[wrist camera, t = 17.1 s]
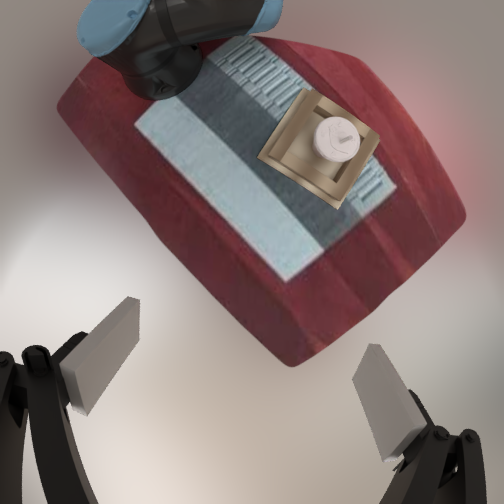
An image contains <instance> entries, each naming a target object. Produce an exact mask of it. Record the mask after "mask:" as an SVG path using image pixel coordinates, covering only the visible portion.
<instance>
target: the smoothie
mask: <svg viewBox="0 0 504 504" xmlns="http://www.w3.org/2000/svg"><path fill="white" fill-rule="evenodd" d="M359 146H360V136H359V133H358V131H357V129H356V127H355V126H354V125H353V124H352V123H351V122H350V121H348V120H347V119H344V118H342V117H329V118H327V119H325V120H323V121H322V122H320V123H319V124H318V126H317V127H316V129H315V132H314V141H313V144H312V149H313V152H314V153H315V155H317V156H318V157H320V158H326V159H327V160H330V161H332V162H345V161H347V160H349V159H351V158H352V157H354V156H355V155H356V153H357V152H358V150H359Z"/></svg>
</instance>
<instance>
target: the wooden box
mask: <svg viewBox="0 0 504 504" xmlns="http://www.w3.org/2000/svg"><path fill="white" fill-rule="evenodd" d="M329 117H342V118H344V119H347V120H348V121H350V122H351V123H352V124H353V125H354V126H355V127H356V129H357V131H358V133H359V136H360V146H359V150H358V152H357V153H356V155H355V156H354V157H352V158H351V159H349V160H347V161H345V162H332V161H330V160H327V159H326V158H320V157H318V156H317V155H315V153H314V152H313V149H312V144H313V141H314V132H315V129H316V127H317V126H318V124H319V123H320V122H322V121H323V120H325V119H327V118H329ZM379 137H380V136H379V135H378V134H377V133H376V132H374V131H373V130H372V129H370V128H369V127H368V126H366V125H365V124H364V123H362V122H361V121H360V120H358V119H357V118H356V117H354V116H353V115H351V114H350V113H349V112H347V111H346V110H344V109H343V108H341V107H340V106H338V105H337V104H335V103H334V102H332V101H331V100H329V99H328V98H326V97H325V96H323V95H322V94H320V93H318V92H317V91H315V90H313V89H312V90H311V91H309V90H307V89H305V88H304V87H303V89H302V90H301V92H300V93H299V95H298V96H297V98H296V99H295V101H294V102H293V103H292V105H291V106H290V108H289V109H288V111H287V112H286V114H285V115H284V117H283V118H282V120H281V121H280V123H279V124H278V126H277V127H276V129H275V130H274V132H273V133H272V135H271V136H270V138H269V140H268V141H267V143H266V144H265V146H264V147H263V149H262V150H261V152H260V153H259V155H258V157H257V158H258V159H260V160H261V161H263V162H265V163H266V164H268V165H270V166H271V167H273V168H274V169H276V170H278V171H279V172H281V173H282V174H284V175H286V176H287V177H289V178H290V179H292V180H293V181H295V182H297V183H298V184H300V185H301V186H303V187H304V188H306V189H307V190H309V191H310V192H312V193H313V194H315V195H316V196H318V197H319V198H321V199H322V200H324V201H325V202H326V203H328V204H329V205H331V206H332V207H334V208H335V209H337V210H338V209H339V207H340V205H341V204H342V202H343V201H344V199H345V198H346V196H347V194H348V193H349V191H350V190H351V188H352V186H353V185H354V183H355V181H356V180H357V178H358V177H359V175H360V173H361V172H362V170H363V168H364V167H365V165H366V163H367V162H368V160H369V158H370V157H371V155H372V153H373V152H374V150H375V148H376V147H377V145H378V143H379V141H380V140H379Z"/></svg>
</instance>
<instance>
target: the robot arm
mask: <svg viewBox="0 0 504 504" xmlns="http://www.w3.org/2000/svg"><path fill="white" fill-rule="evenodd" d="M282 7H283V0H92V1H91V2H90V3H89V5H88V6H87V7H86V8H85V10H84V12H83V13H82V15H81V17H80V19H79V22H78V26H77V39H78V41H79V43H80V44H81V45H82V46H83V47H84V48H85V49H87V50H88V51H89V53H90V54H91V55H93V56H95V57H97V58H98V59H100V60H102V61H103V62H105V63H107V64H108V65H110V66H111V67H113V68H115V69H116V70H118V71H119V72H121V73H122V76H123V78H124V81H125V83H126V85H127V87H128V88H129V89H130V90H131V91H132V92H133V93H134V94H136V95H138V96H139V97H141V98H143V99H147V100H163V99H167V98H170V97H172V96H175V95H177V94H179V93H180V92H182V91H183V90H185V89H186V88H187V87H188V86H189V85H190V84H191V83H192V82H193V81H194V80H195V78H196V77H197V75H198V73H199V71H200V69H201V66H202V51H201V49H200V47H199V45H198V43H199V42H204V41H209V40H214V39H220V38H226V37H232V36H239V35H241V36H246V35H249V34H251V33H258V32H265V31H268V30H270V29H272V28H274V27H275V26H276V24H277V23H278V21H279V19H280V16H281V12H282ZM139 314H140V300H138V299H135V298H132V297H127V298H126V299H124V300H123V301H122V302H121V303H120V304H119V305H118V306H117V307H116V308H115V309H114V310H113V311H112V312H111V313H110V314H109V315H108V316H107V317H106V318H105V319H103V321H101V322H100V324H98V325H97V326H96V327H95V328H94V329H93V330H92V332H90V333H89V334H88V333H85V332H82V331H81V332H79V333H77V334H75V335H73V336H72V337H71V338H70V339H69V340H68V341H67V342H65V343H64V344H63V346H61V347H60V348H59V349H58V350H57V351H56V352H55V353H54V354H53V355H52V356H50V353H49V350H48V349H47V348H45V347H43V346H41V345H33V346H29V347H27V348H26V349H25V350H24V351H23V352H22V359H23V363H24V365H21V364H18V363H15V361H14V358H13V356H12V355H11V354H10V353H8V352H5V351H1V352H0V504H22V463H23V449H24V439H25V432H26V424H27V418H28V412H29V421H30V429H31V435H32V442H33V448H34V453H35V458H36V463H37V467H38V471H39V475H40V479H41V483H42V487H43V490H44V493H45V496H46V500H47V503H48V504H98V502H97V499H96V497H95V495H94V493H93V490H92V488H91V486H90V483H89V481H88V478H87V475H86V473H85V470H84V467H83V464H82V461H81V459H80V455H79V452H78V449H77V446H76V443H75V439H74V436H73V432H72V428H71V425H70V420H69V416H68V412H67V409H66V406H67V405H68V403H69V402H70V403H71V406H72V409H73V410H75V411H77V412H79V413H81V414H83V415H85V416H88V414H89V413H90V411H91V409H92V408H93V407H94V405H95V404H96V402H97V401H98V399H99V398H100V396H101V395H102V393H103V392H104V390H105V389H106V387H107V386H108V384H109V383H110V381H111V380H112V378H113V377H114V375H115V374H116V373H117V371H118V370H119V368H120V367H121V365H122V364H123V363H124V361H125V360H126V358H127V357H128V355H129V354H130V353H131V351H132V350H133V348H134V347H135V345H136V344H137V343H138V341H139ZM352 380H353V383H354V385H355V388H356V390H357V393H358V395H359V398H360V401H361V403H362V406H363V408H364V411H365V414H366V417H367V419H368V422H369V425H370V427H371V430H372V432H373V436H374V438H375V441H376V444H377V447H378V449H379V453H380V455H381V458H382V461H383V462H388V461H394V460H396V459H397V458H398V457H399V456H400V455H401V454H402V453H403V455H404V459H403V460H402V461H401V462H400V463H399V464H398V465H397V466H396V467H395V468H394V469H393V471H395V470H396V469H397V471H396V474H395V475H394V478H393V479H392V481H391V483H390V485H389V487H388V489H387V491H386V493H385V494H384V496H383V498H382V500H381V501H380V503H379V504H487V497H486V481H485V471H484V462H483V455H482V449H481V443H480V438H479V436H478V435H477V433H476V432H475V431H474V430H471V429H465V430H463V432H462V433H461V434H460V435H459V436H454V435H450V434H449V432H448V431H447V430H446V429H445V428H443V427H442V426H435V425H434V423H433V422H432V420H431V418H430V416H429V415H428V413H427V411H426V410H425V408H424V406H423V404H422V403H421V401H420V399H419V398H418V396H417V395H416V394H415V393H414V392H413V391H412V390H408V389H407V388H406V386H405V384H404V383H403V381H402V380H401V378H400V376H399V374H398V373H397V371H396V369H395V368H394V366H393V364H392V363H391V361H390V360H389V358H388V357H387V355H386V354H385V352H384V350H383V349H382V347H381V345H379V344H369V345H368V347H367V350H366V352H365V354H364V356H363V358H362V360H361V362H360V364H359V366H358V369H357V371H356V373H355V375H354V377H353V379H352ZM457 466H458V468H457V472H455V468H456V467H457Z"/></svg>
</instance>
